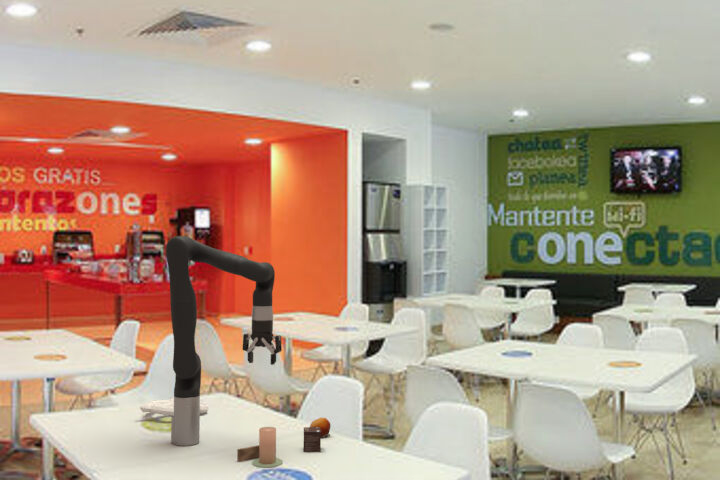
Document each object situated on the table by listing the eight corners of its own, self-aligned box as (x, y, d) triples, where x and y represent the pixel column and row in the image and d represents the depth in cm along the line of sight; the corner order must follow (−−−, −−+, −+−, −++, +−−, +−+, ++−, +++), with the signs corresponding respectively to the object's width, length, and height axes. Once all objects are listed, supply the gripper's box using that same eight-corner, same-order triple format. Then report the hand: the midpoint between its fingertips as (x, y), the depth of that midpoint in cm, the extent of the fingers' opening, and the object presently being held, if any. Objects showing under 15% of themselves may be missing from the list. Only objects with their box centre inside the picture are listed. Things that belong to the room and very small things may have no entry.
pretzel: (163, 410, 340) (165, 395, 341) (214, 415, 334) (215, 400, 335) (131, 416, 313) (133, 400, 313) (185, 422, 307) (187, 405, 308)
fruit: (332, 435, 289) (321, 416, 290) (314, 445, 291) (304, 426, 292) (337, 430, 297) (327, 412, 298) (320, 439, 299) (310, 421, 300)
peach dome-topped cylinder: (256, 463, 258) (256, 430, 258) (263, 458, 264) (263, 426, 263) (271, 464, 256) (271, 431, 256) (278, 460, 262) (278, 427, 262)
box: (303, 447, 279) (303, 427, 279) (320, 447, 280) (320, 426, 279) (303, 452, 273) (303, 431, 273) (320, 452, 273) (320, 431, 273)
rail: (239, 461, 261) (239, 450, 261) (237, 461, 262) (237, 449, 262) (274, 454, 269) (275, 443, 269) (273, 454, 270) (273, 442, 270)
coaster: (247, 465, 257) (247, 464, 257) (260, 457, 266) (260, 456, 266) (274, 469, 253) (274, 467, 253) (287, 460, 263) (287, 459, 263)
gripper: (239, 318, 276) (239, 364, 276) (276, 320, 272) (275, 366, 272) (249, 316, 283) (248, 360, 284) (284, 318, 279) (284, 363, 279)
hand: (261, 363), depth 278 cm, fingers open, 8 cm apart
